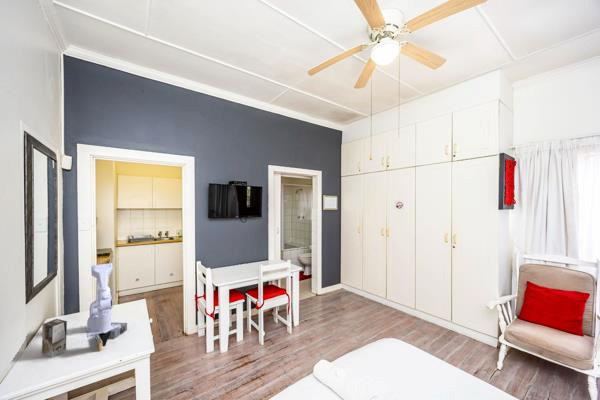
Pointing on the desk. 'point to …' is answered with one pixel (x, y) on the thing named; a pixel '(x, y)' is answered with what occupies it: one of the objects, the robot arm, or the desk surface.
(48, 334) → the coffee box
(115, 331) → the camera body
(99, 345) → the side door
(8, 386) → the desk surface
